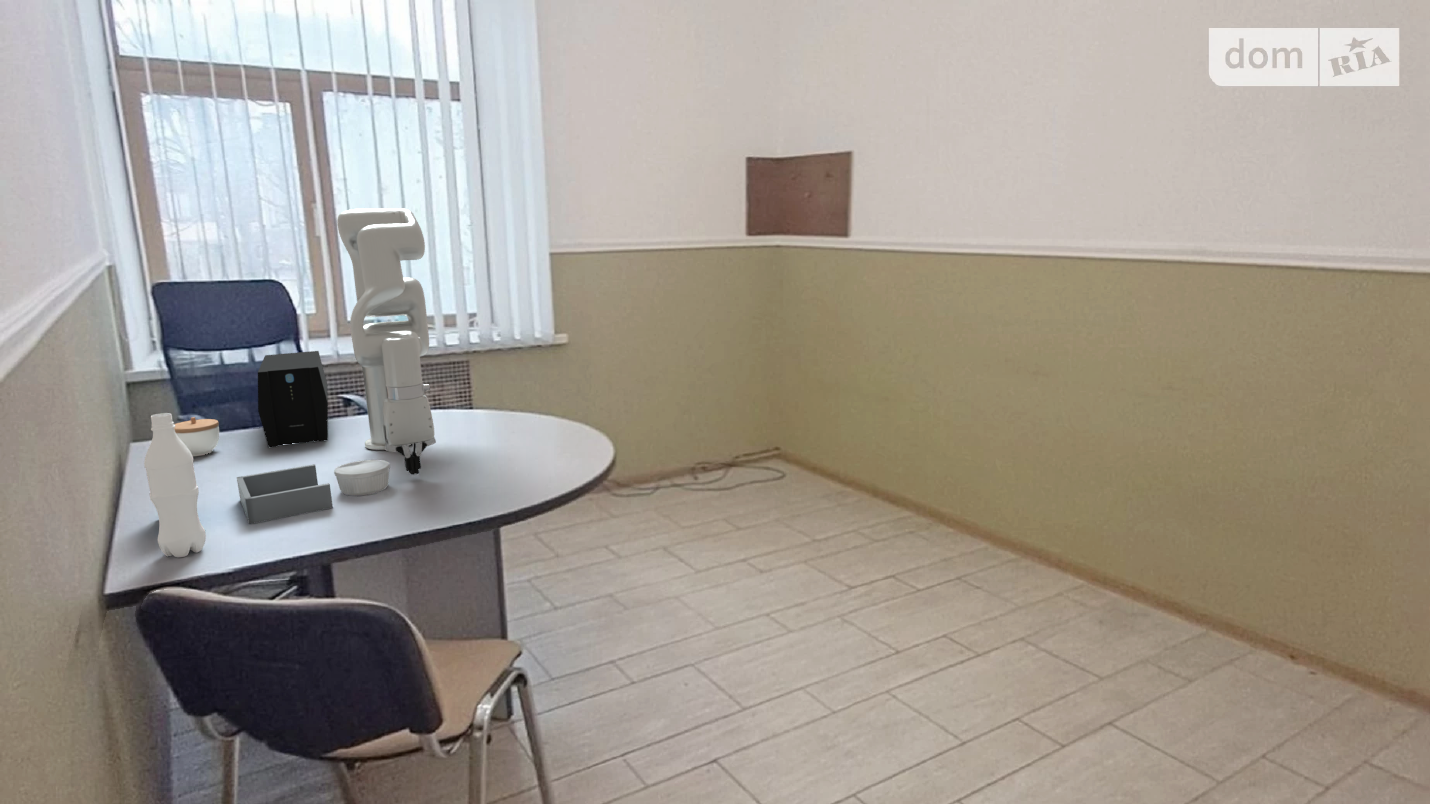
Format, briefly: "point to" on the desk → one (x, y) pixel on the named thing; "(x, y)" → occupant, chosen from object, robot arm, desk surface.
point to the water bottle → (173, 489)
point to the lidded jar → (198, 435)
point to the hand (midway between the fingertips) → (413, 472)
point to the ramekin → (363, 477)
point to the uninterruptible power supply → (293, 398)
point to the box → (283, 493)
